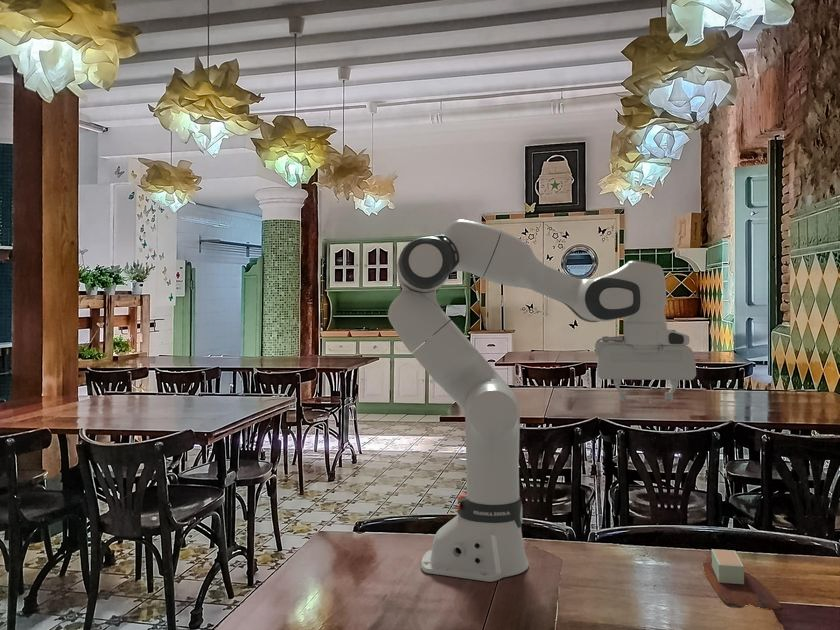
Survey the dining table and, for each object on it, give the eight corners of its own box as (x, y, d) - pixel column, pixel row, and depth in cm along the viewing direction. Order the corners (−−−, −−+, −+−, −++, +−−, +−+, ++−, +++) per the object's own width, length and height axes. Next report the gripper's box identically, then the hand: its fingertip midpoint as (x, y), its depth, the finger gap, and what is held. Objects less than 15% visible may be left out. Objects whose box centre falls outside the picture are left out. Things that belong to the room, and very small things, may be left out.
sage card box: (711, 565, 140) (719, 582, 132) (711, 548, 140) (718, 564, 132) (735, 567, 139) (744, 584, 130) (734, 550, 139) (743, 566, 130)
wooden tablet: (786, 614, 121) (786, 605, 121) (726, 611, 123) (725, 602, 123) (740, 560, 147) (740, 552, 147) (691, 558, 149) (691, 550, 149)
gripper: (595, 336, 147) (596, 401, 147) (697, 336, 143) (698, 403, 143) (594, 335, 153) (595, 398, 153) (692, 335, 149) (692, 399, 149)
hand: (645, 400), depth 148 cm, fingers open, 8 cm apart
